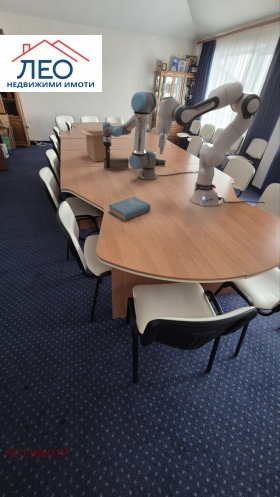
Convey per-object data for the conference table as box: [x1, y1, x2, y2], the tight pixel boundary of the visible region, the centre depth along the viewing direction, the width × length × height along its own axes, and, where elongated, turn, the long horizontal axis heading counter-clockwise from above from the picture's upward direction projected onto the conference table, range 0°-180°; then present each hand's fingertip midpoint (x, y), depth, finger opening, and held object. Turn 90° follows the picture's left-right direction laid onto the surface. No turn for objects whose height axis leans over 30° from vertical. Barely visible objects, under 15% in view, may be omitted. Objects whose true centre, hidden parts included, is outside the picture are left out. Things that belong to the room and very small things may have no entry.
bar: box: [102, 157, 130, 170], centre depth 217 cm, size 24×5×8 cm, turn 105°
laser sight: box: [155, 158, 166, 167], centre depth 237 cm, size 10×22×10 cm, turn 78°
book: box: [108, 196, 152, 222], centre depth 146 cm, size 23×16×5 cm
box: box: [77, 128, 111, 163], centre depth 240 cm, size 44×36×27 cm
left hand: (107, 167), depth 217 cm, fingers closed on bar, 5 cm apart
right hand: (161, 152), depth 144 cm, fingers open, 8 cm apart
